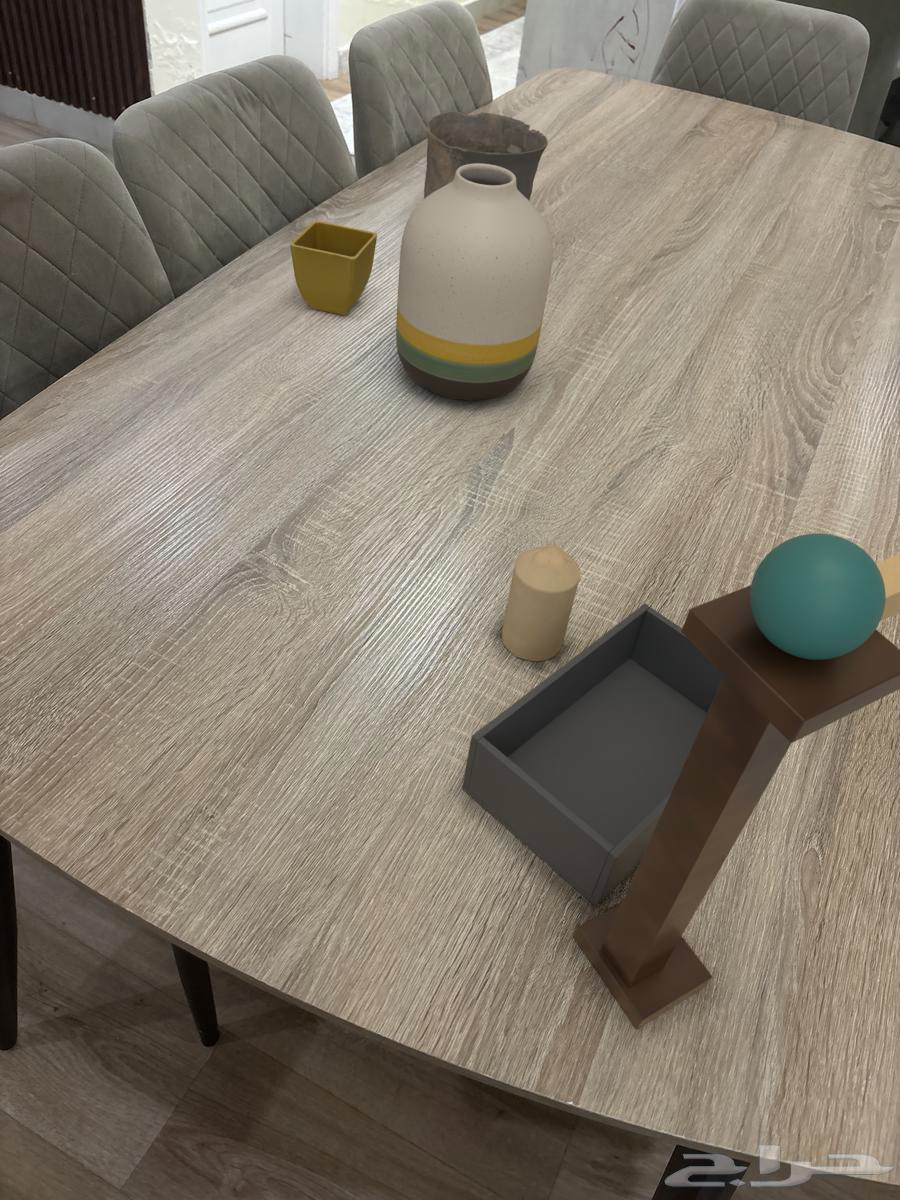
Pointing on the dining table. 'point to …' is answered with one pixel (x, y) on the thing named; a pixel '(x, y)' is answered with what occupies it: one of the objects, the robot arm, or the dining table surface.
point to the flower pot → (332, 265)
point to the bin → (596, 750)
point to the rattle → (822, 595)
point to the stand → (721, 793)
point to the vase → (472, 285)
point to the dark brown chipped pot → (481, 148)
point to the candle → (540, 602)
